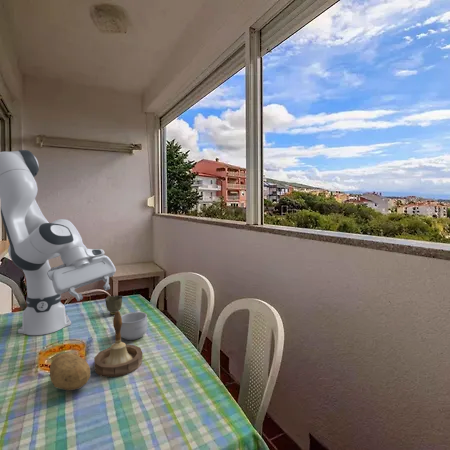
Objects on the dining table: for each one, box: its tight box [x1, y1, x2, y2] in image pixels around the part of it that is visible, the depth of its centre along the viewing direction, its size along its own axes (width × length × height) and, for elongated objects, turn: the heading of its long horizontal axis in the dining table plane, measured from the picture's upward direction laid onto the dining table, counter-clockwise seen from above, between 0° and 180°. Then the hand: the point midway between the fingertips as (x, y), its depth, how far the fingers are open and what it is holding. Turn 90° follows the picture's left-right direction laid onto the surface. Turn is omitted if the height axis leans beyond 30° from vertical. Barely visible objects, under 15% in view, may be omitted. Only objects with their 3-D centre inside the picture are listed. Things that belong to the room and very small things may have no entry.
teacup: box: [120, 310, 148, 341], centre depth 116 cm, size 14×11×8 cm
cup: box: [104, 294, 123, 316], centre depth 138 cm, size 8×7×8 cm
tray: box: [93, 344, 144, 378], centre depth 94 cm, size 14×14×3 cm
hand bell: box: [105, 310, 133, 365], centre depth 93 cm, size 8×8×16 cm
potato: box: [49, 352, 91, 391], centre depth 83 cm, size 10×14×8 cm
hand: (94, 294), depth 101 cm, fingers open, 8 cm apart
